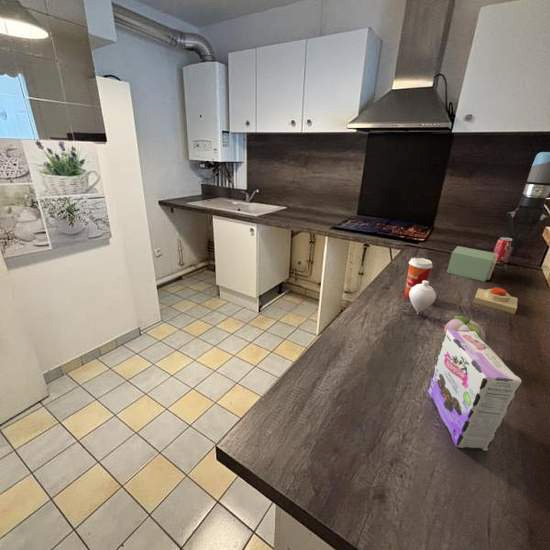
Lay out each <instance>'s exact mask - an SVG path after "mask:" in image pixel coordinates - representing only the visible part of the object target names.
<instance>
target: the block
mask: <svg viewBox="0 0 550 550" xmlns="http://www.w3.org/2000/svg"><path fill="white" fill-rule="evenodd" d="M491 291H492V288H488V289H487V288H486V289H483V288H479V287H478V288H477V291H476V294H475V296H474V299H473V302H472V303H473V304H477V305H481V306H484V307H488V308H491V309H495V310H497V311H498V310H499V311H502V312H506V313H510V314H513V315H515V314H516V312H517V310H518V301H519V299H518V297H515V296H511V295H510V293H508V292H506V294H505V296H498V295H495V294H493V293H491Z"/></svg>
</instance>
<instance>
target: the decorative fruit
mask: <svg viewBox="0 0 550 550" xmlns="http://www.w3.org/2000/svg"><path fill="white" fill-rule="evenodd" d="M446 330H462V331H475V332H476V333H477V334H478V336H479V337H480V338H481V339H482V340H483V341H484V342H485V341H486V333H485V330H484V329H483V328H482V326H481V325H480V324H478V323H477V322H475V321H474V320H471V318H470V317H469V318H467V317H464V316H463V315H462V316H461V315H455V316H453V319H451V320H449V321H448V322H447V323H446V324H445V325H444V329H443V331H444V334H445V333H446Z"/></svg>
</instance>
